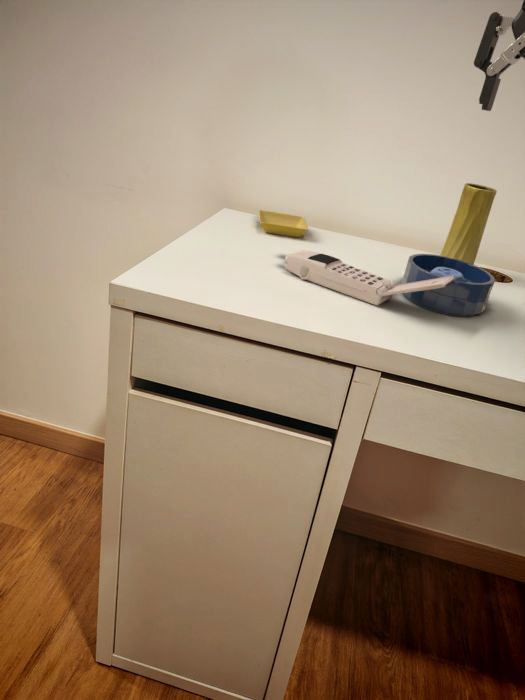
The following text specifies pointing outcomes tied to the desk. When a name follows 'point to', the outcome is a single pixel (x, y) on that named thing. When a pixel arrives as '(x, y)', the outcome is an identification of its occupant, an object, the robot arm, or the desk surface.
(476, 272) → the bowl
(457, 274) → the decorative dice
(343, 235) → the desk surface
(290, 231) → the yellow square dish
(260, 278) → the desk surface
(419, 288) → the mobile phone
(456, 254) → the vase
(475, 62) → the robot arm
